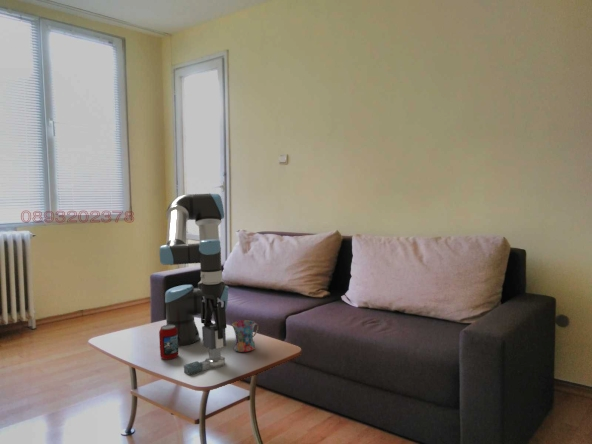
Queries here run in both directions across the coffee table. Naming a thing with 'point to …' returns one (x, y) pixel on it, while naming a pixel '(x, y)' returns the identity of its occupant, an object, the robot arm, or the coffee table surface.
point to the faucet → (206, 363)
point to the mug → (244, 335)
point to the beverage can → (168, 342)
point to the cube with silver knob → (211, 336)
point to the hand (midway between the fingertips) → (214, 345)
